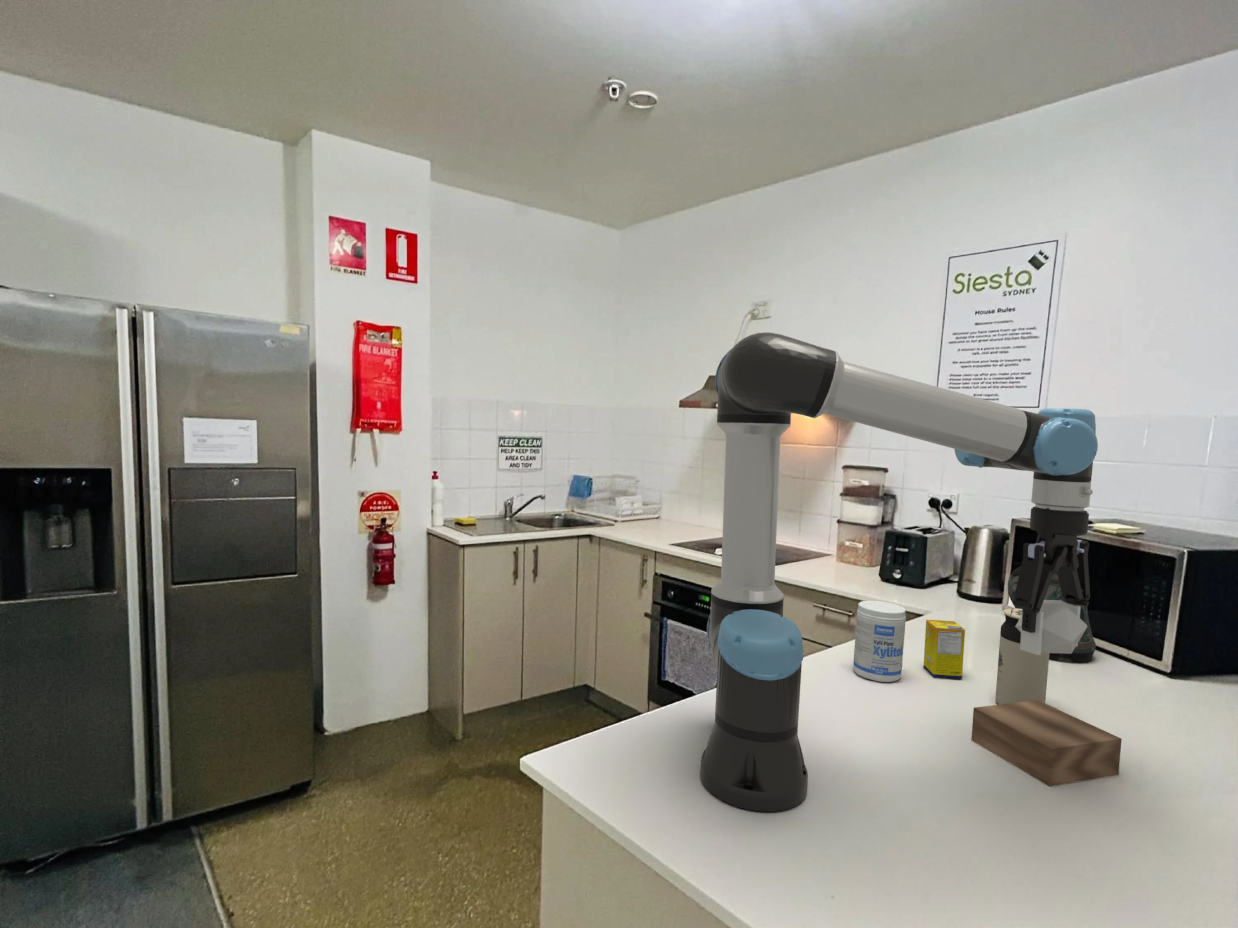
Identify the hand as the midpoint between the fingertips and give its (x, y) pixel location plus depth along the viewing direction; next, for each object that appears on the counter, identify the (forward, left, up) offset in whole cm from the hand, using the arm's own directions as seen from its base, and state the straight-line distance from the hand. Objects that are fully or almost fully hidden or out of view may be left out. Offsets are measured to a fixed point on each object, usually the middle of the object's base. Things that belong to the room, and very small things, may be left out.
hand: (1049, 647), depth 101 cm
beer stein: (+55, +29, -18) cm, 65 cm away
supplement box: (+17, +30, -18) cm, 39 cm away
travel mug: (+16, +13, -18) cm, 27 cm away
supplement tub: (+3, +35, -18) cm, 39 cm away
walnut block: (0, 0, -18) cm, 18 cm away
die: (0, 0, -1) cm, 1 cm away
